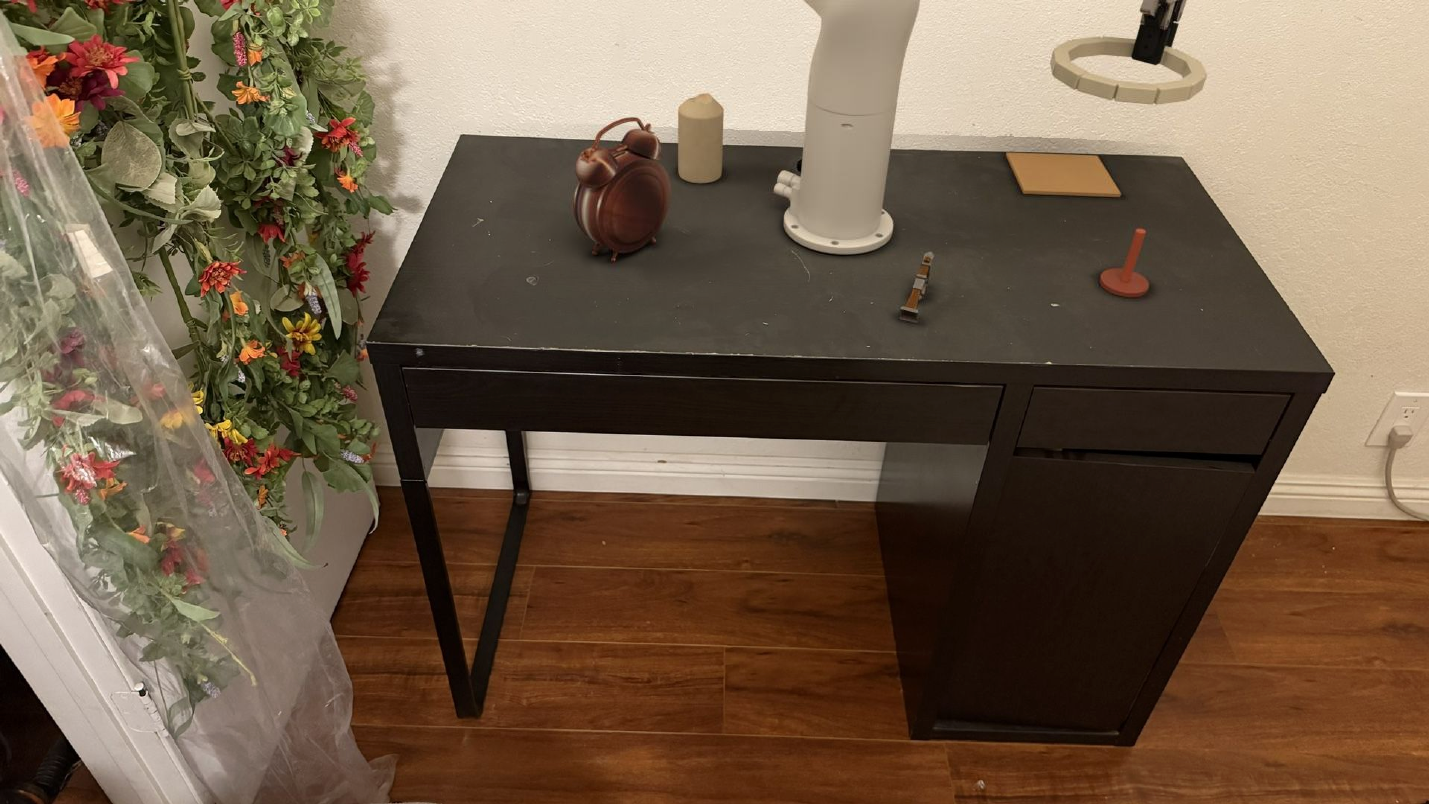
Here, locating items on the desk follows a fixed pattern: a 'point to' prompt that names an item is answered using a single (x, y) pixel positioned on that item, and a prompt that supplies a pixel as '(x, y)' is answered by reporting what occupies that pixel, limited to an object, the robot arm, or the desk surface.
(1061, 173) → the mat
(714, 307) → the desk surface
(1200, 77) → the ring
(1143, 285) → the post
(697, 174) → the candle
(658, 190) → the alarm clock
